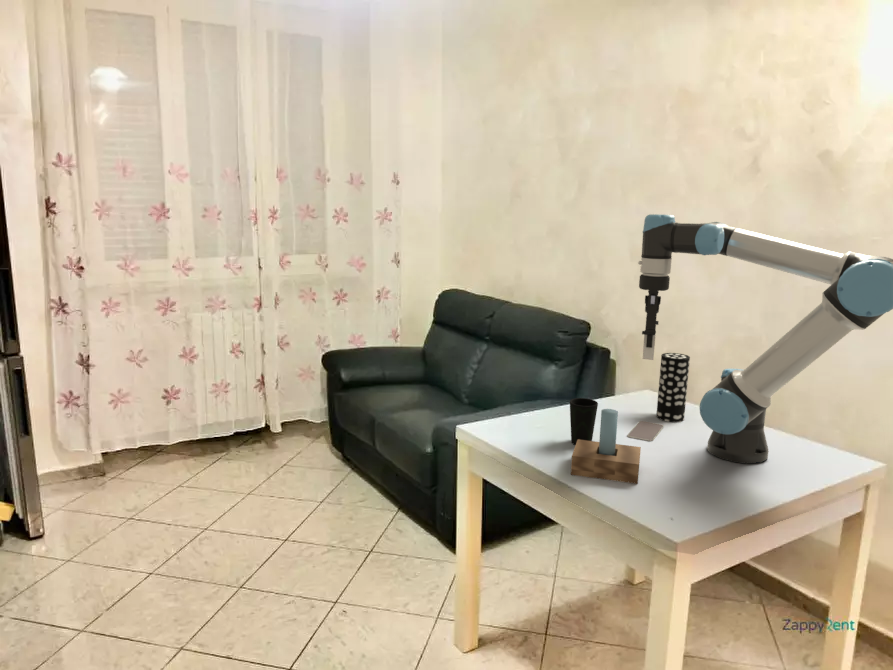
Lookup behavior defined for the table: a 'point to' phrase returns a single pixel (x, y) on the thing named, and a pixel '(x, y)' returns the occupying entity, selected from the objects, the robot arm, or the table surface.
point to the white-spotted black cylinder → (672, 387)
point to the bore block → (606, 462)
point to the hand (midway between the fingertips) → (648, 353)
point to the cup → (582, 419)
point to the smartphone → (645, 431)
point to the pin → (608, 432)
